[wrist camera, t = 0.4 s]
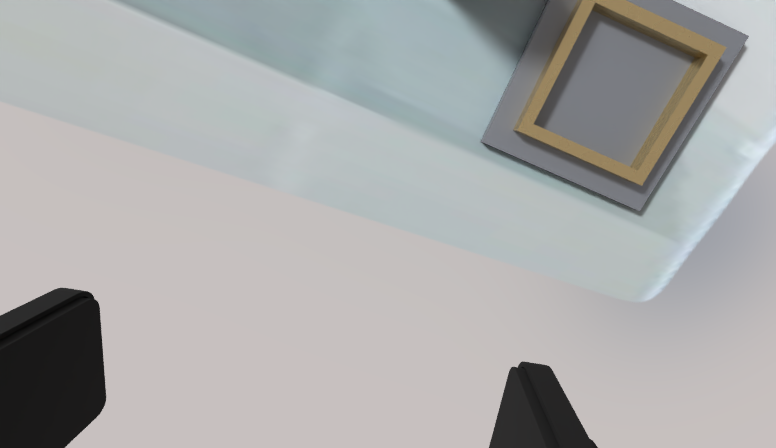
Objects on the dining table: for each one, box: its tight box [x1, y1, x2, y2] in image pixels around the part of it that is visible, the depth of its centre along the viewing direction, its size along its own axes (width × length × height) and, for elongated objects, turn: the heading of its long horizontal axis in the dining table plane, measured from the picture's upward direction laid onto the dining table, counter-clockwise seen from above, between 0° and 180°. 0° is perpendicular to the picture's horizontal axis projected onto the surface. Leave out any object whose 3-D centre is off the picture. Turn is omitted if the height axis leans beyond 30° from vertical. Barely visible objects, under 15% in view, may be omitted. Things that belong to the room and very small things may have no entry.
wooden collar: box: [513, 0, 727, 186], centre depth 33 cm, size 12×12×2 cm
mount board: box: [481, 0, 749, 211], centre depth 34 cm, size 16×16×1 cm
